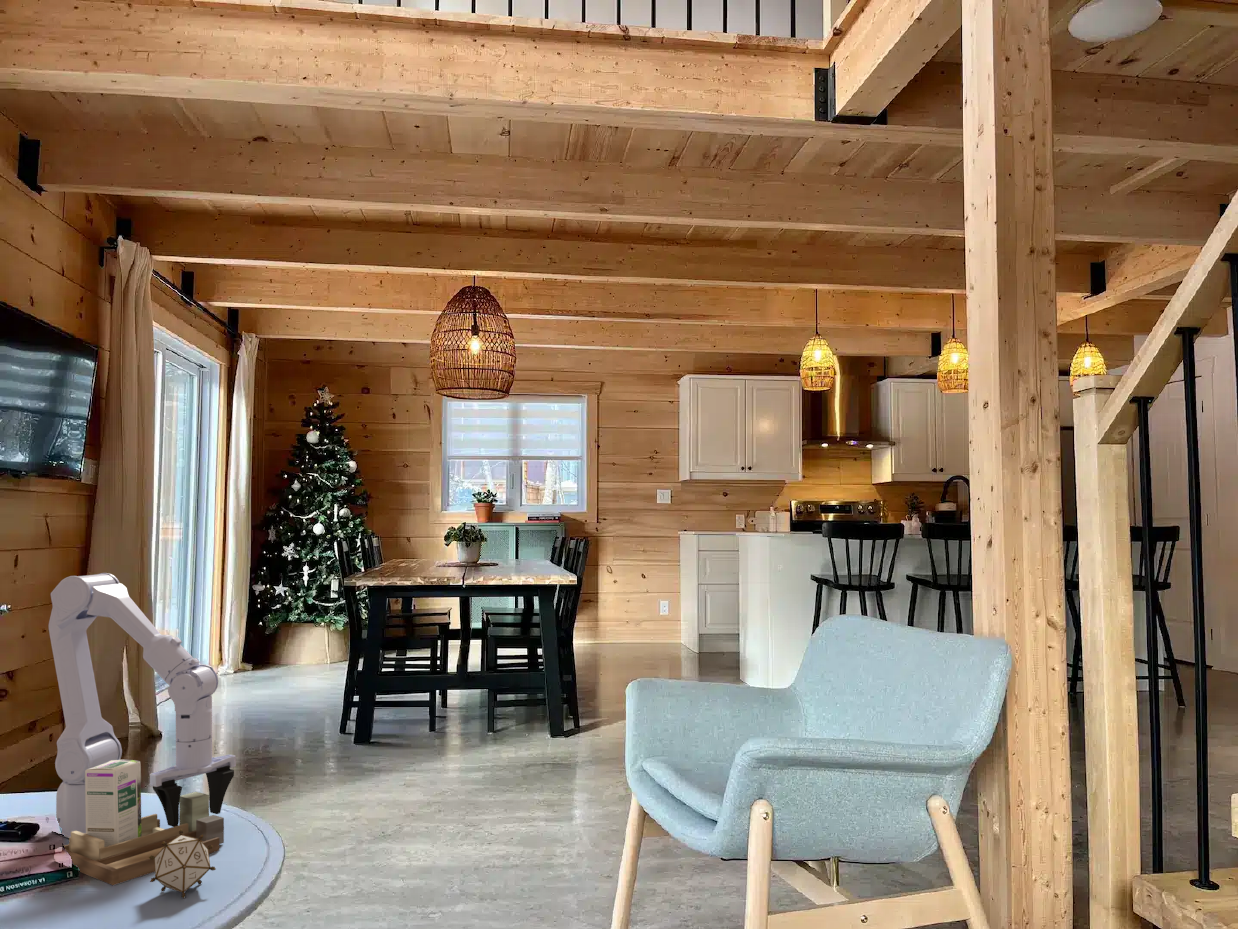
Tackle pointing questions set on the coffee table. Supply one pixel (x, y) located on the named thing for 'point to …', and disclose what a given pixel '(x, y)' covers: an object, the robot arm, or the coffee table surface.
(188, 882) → the game die
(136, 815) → the syrup box
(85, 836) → the wooden slotted tray
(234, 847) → the coffee table surface
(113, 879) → the lane board
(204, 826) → the wooden bar
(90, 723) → the robot arm
